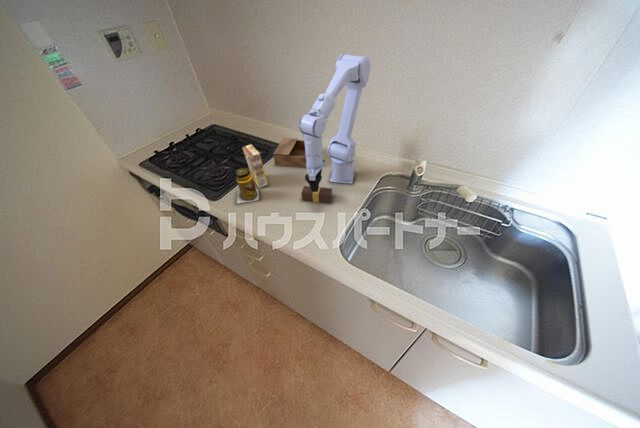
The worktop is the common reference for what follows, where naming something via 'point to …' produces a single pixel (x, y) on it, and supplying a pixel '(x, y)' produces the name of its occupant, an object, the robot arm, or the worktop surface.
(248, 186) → the condiment
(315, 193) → the chocolate bar
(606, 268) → the worktop surface
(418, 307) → the worktop surface
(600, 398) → the worktop surface
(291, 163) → the brown wooden square box
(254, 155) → the candy box
